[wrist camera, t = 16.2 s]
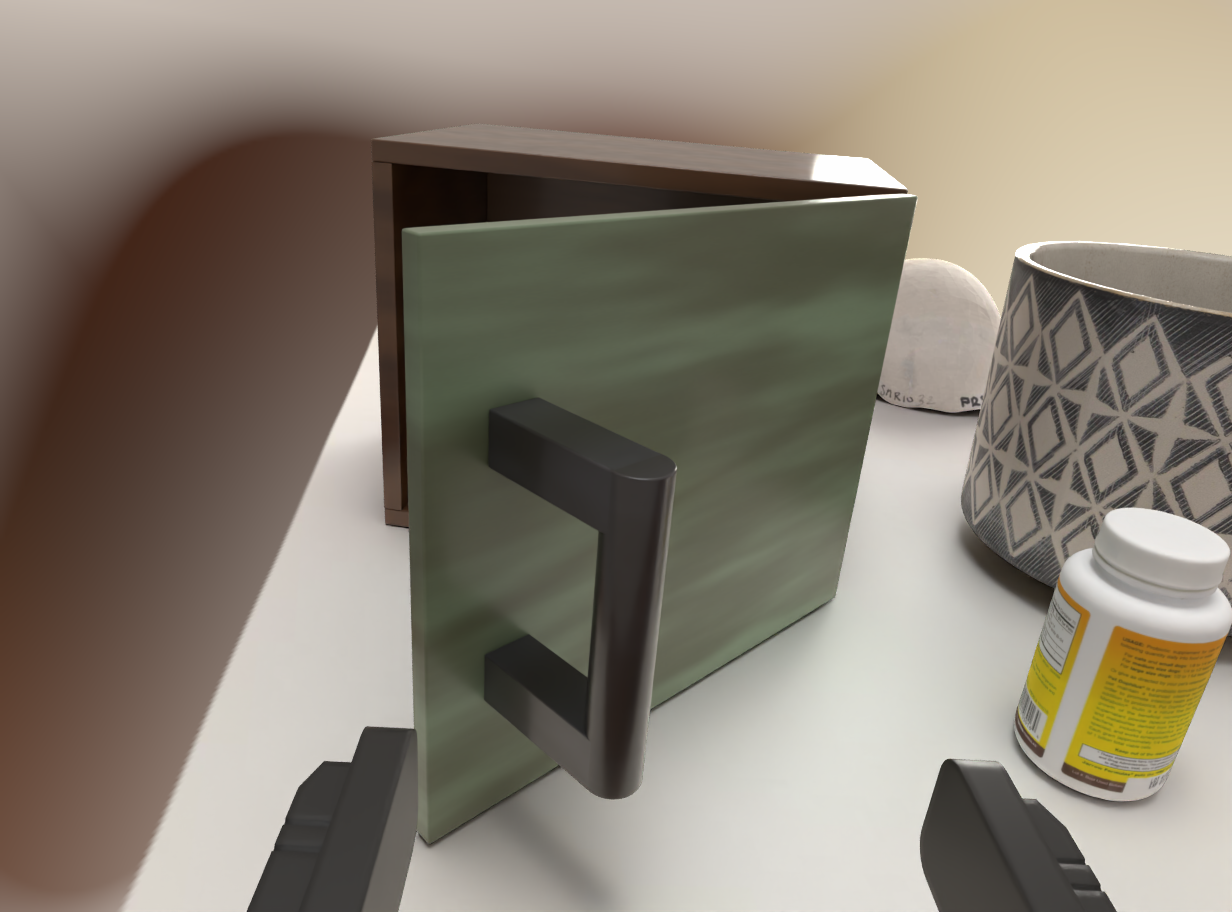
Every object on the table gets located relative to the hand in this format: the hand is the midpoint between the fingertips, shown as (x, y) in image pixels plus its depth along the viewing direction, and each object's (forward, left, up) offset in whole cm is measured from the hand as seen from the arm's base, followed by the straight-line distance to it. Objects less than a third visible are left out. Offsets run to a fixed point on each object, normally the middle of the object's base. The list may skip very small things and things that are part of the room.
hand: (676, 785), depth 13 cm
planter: (+20, +39, -14) cm, 46 cm away
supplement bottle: (+14, +21, -14) cm, 29 cm away
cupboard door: (0, +18, -14) cm, 23 cm away
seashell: (+10, +69, -14) cm, 71 cm away
